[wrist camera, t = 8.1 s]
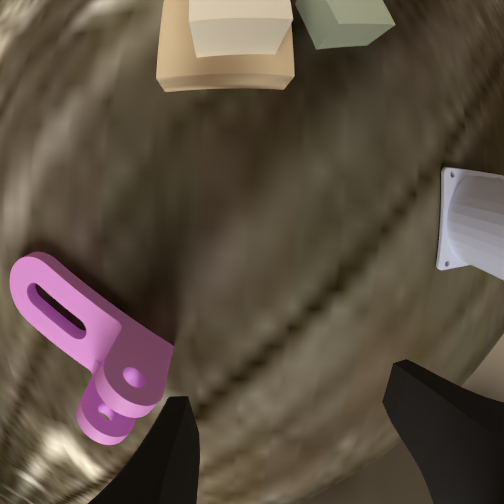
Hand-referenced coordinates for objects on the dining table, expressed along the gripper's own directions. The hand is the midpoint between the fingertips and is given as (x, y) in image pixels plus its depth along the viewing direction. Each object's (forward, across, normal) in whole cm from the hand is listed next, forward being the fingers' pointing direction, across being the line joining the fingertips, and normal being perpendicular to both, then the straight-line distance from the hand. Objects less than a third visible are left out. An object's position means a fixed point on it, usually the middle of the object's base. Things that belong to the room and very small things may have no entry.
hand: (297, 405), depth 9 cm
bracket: (+10, +13, +1) cm, 16 cm away
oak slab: (+10, +1, -16) cm, 19 cm away
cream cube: (+7, +1, -16) cm, 17 cm away
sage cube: (+10, -6, -18) cm, 21 cm away
